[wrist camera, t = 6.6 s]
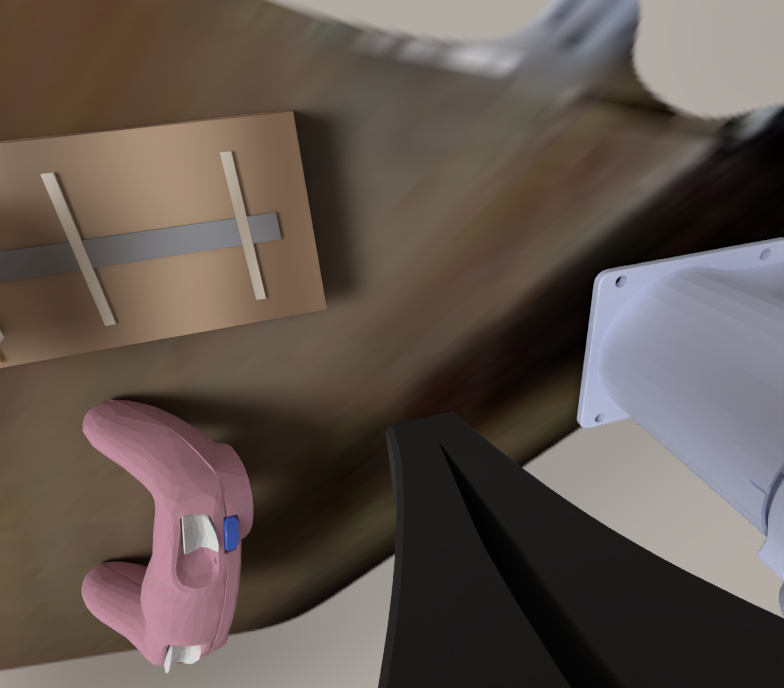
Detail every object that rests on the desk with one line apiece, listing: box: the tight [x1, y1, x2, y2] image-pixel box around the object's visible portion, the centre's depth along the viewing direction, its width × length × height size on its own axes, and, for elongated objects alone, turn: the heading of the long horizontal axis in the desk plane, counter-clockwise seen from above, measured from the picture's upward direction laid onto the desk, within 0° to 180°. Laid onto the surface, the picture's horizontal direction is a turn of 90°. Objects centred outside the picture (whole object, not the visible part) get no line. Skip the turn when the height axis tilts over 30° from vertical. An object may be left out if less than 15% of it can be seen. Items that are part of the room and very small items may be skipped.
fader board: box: [0, 110, 327, 368], centre depth 14 cm, size 13×6×2 cm, turn 95°
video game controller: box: [81, 400, 254, 673], centre depth 18 cm, size 10×5×7 cm, turn 164°
